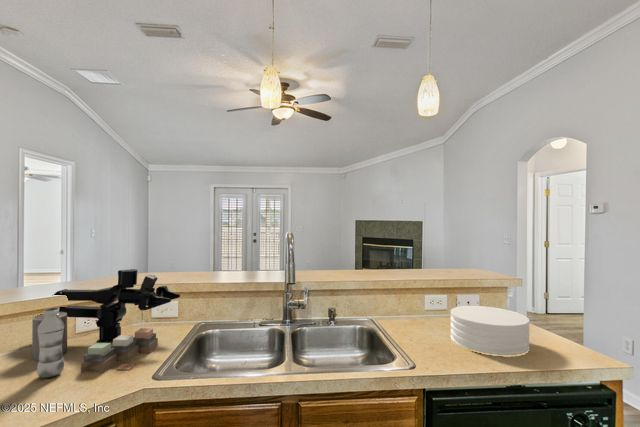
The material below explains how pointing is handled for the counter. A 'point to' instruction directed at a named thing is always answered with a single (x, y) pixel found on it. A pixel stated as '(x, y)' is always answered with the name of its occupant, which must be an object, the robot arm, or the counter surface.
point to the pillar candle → (35, 338)
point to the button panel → (119, 355)
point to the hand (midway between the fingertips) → (175, 298)
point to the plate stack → (490, 330)
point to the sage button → (99, 349)
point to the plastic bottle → (50, 344)
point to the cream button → (123, 340)
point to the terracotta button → (144, 333)
